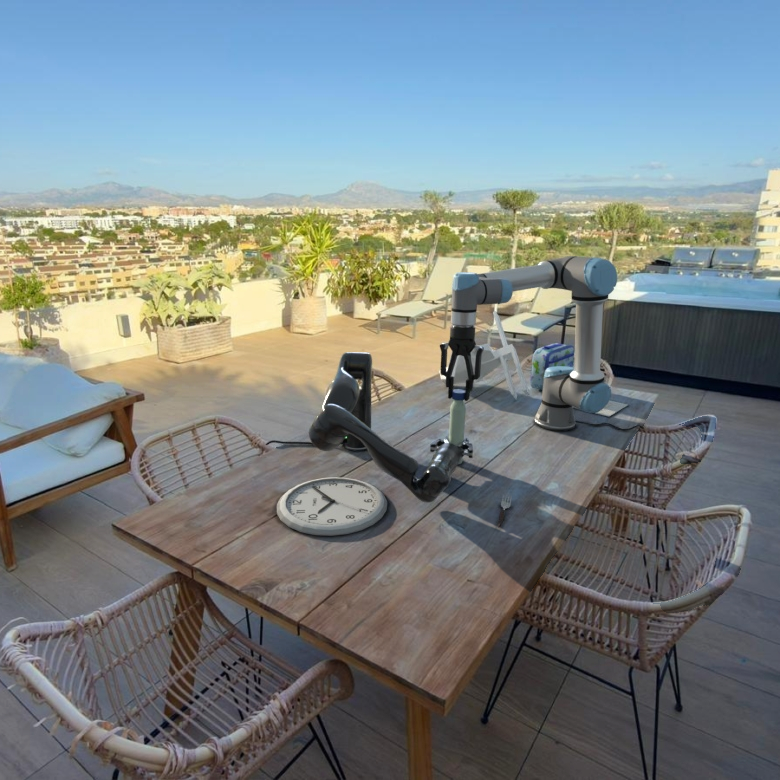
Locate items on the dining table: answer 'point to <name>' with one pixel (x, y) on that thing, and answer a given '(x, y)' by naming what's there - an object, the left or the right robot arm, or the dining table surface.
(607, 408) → the invitation card
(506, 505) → the fork
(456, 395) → the cap
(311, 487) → the wall clock
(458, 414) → the bottle
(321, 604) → the dining table surface
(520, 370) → the white plastic object
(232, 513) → the dining table surface
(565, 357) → the lunch box
